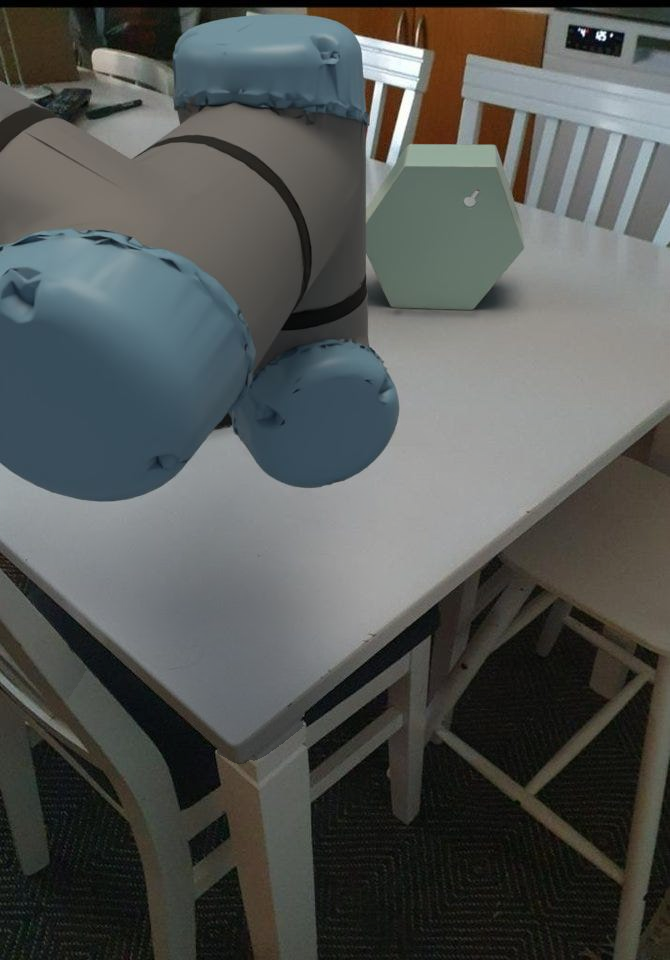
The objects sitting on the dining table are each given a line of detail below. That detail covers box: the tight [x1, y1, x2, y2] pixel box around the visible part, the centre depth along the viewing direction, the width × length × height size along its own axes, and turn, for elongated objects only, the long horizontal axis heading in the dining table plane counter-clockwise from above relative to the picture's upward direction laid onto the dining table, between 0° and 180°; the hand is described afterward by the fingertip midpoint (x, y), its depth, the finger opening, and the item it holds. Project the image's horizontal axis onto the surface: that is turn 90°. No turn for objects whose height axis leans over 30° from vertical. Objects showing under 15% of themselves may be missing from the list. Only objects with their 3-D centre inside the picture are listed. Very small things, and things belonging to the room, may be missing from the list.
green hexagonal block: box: [366, 143, 525, 311], centre depth 98 cm, size 17×8×21 cm, turn 81°
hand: (168, 181), depth 63 cm, fingers open, 13 cm apart
